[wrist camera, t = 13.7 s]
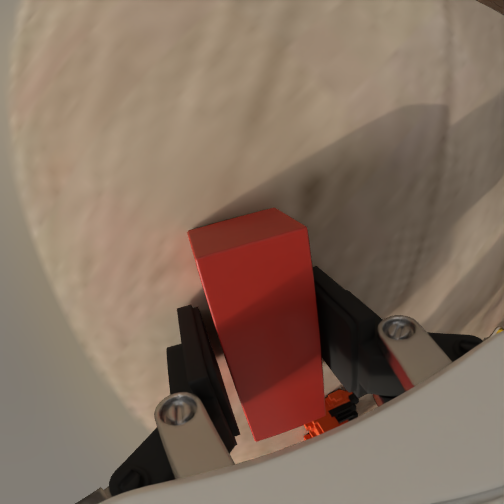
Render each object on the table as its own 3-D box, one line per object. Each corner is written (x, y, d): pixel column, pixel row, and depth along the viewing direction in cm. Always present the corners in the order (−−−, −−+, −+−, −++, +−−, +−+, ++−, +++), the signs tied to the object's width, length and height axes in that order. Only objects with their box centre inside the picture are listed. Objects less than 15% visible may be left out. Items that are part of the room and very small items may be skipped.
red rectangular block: (186, 230, 10) (194, 258, 8) (274, 206, 10) (307, 226, 8) (239, 399, 13) (255, 442, 11) (301, 377, 14) (326, 416, 11)
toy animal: (376, 426, 17) (473, 550, 7) (302, 461, 16) (384, 607, 6) (385, 340, 14) (548, 502, 3) (286, 384, 13) (422, 610, 3)
